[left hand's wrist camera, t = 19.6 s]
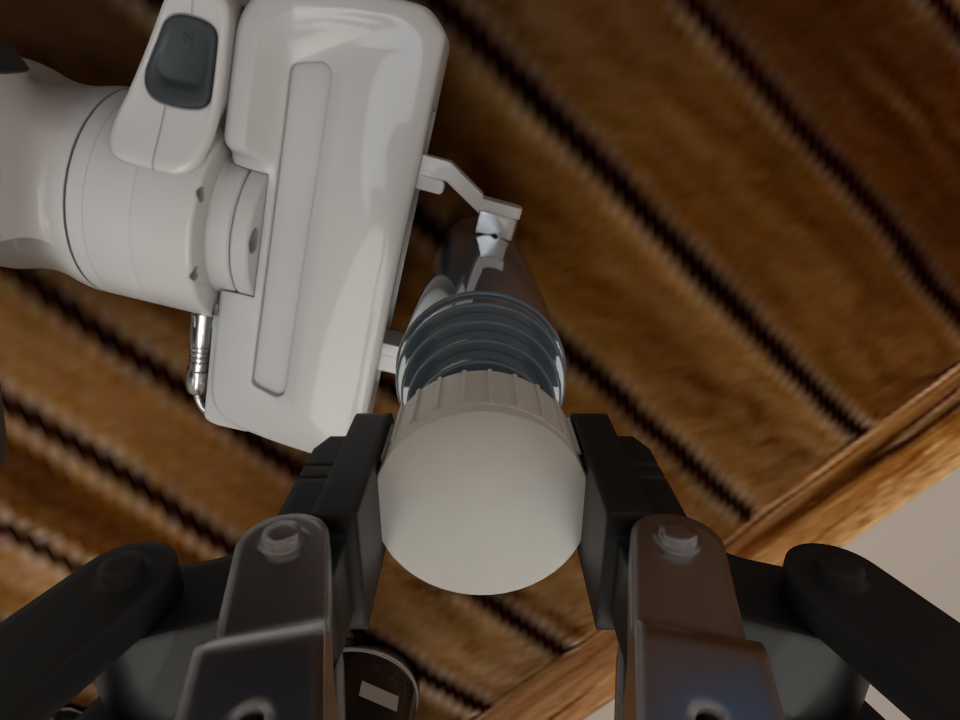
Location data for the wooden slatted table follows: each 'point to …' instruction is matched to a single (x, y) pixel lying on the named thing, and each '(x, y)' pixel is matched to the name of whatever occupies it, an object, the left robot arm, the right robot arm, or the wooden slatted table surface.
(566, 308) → the wooden slatted table surface
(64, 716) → the fossil
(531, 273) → the bottle
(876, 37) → the wooden slatted table surface
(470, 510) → the cap
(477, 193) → the right robot arm
